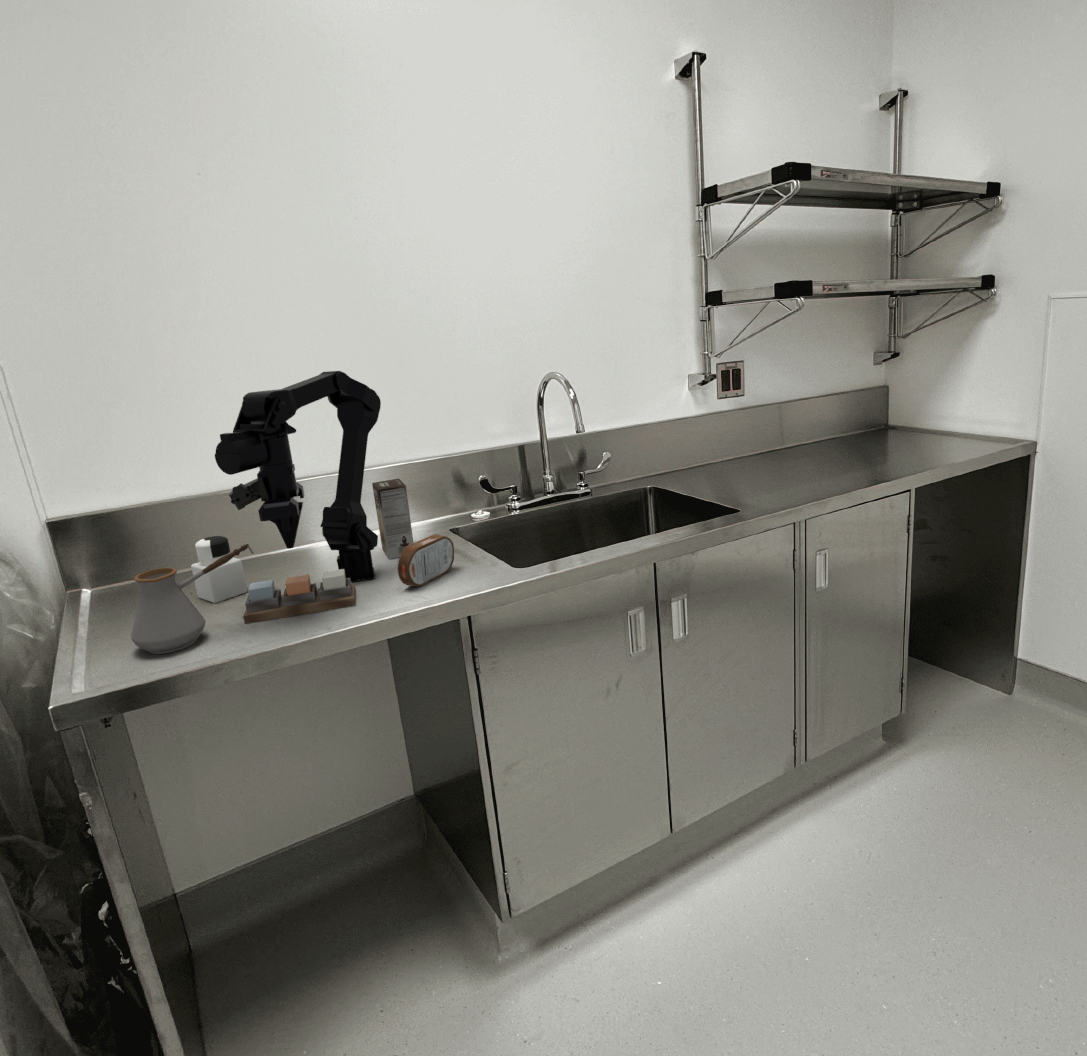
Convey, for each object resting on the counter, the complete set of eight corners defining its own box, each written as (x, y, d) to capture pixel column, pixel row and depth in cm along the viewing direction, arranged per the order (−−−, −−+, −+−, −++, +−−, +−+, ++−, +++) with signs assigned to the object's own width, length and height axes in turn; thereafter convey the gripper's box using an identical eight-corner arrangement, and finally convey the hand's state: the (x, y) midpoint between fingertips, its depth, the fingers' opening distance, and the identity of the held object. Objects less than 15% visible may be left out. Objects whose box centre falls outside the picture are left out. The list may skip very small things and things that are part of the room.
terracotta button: (311, 589, 140) (309, 574, 139) (310, 596, 136) (307, 580, 135) (289, 592, 139) (287, 577, 138) (288, 599, 135) (285, 584, 134)
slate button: (276, 594, 138) (273, 579, 138) (274, 601, 135) (271, 586, 134) (253, 598, 138) (250, 583, 137) (251, 605, 134) (247, 590, 133)
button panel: (355, 590, 144) (352, 575, 143) (355, 605, 136) (352, 588, 135) (250, 607, 140) (247, 591, 139) (244, 623, 132) (241, 606, 131)
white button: (346, 583, 141) (344, 568, 140) (346, 590, 137) (344, 575, 137) (325, 586, 140) (322, 572, 139) (324, 593, 137) (321, 578, 136)
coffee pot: (132, 665, 119) (109, 578, 114) (137, 640, 129) (116, 559, 125) (270, 633, 127) (254, 551, 123) (265, 612, 137) (249, 535, 133)
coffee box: (381, 549, 171) (370, 482, 166) (408, 544, 173) (398, 477, 169) (388, 559, 162) (377, 489, 158) (416, 554, 165) (407, 484, 160)
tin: (447, 567, 154) (442, 528, 152) (459, 568, 152) (454, 529, 150) (399, 591, 142) (393, 550, 140) (411, 593, 140) (405, 551, 138)
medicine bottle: (230, 586, 154) (219, 531, 150) (248, 592, 149) (236, 535, 146) (197, 597, 148) (184, 541, 145) (214, 604, 144) (201, 545, 141)
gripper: (235, 460, 138) (251, 539, 142) (218, 477, 120) (237, 567, 124) (297, 452, 140) (311, 531, 144) (289, 469, 123) (305, 557, 127)
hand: (291, 546), depth 135 cm, fingers open, 3 cm apart
